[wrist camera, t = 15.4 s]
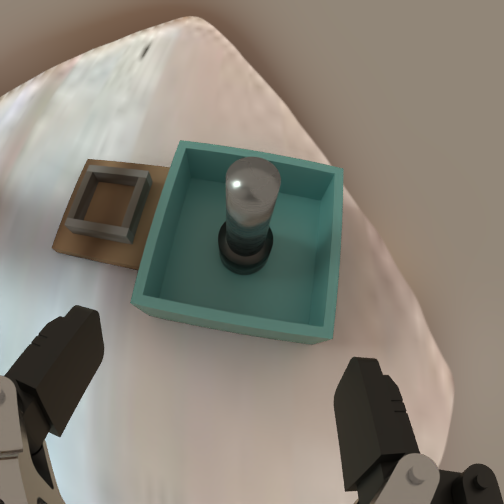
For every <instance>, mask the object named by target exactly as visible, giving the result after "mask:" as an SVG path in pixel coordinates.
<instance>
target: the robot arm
mask: <svg viewBox="0 0 504 504" xmlns="http://www.w3.org/2000/svg"><path fill="white" fill-rule="evenodd" d="M103 355H104V343H103V337H102V330H101V323H100V316H99V313H98V311H96V310H93V309H89V308H85V307H82V306H78V305H75V306H74V307H73V308H72V309H71V310H70V311H69V312H68V313H67V315H66V316H65V317H61V316H60V317H58V318H56V319H54V320H53V321H51V322H49V323H48V324H47V325H46V326H45V327H44V328H43V329H42V330H41V332H40V333H39V335H38V336H36V337H35V339H34V340H33V341H32V344H30V345H29V346H28V347H27V348H26V349H25V351H24V352H23V353H22V354H21V356H20V357H19V358H18V359H17V361H16V362H15V363H14V364H13V366H12V367H11V368H10V370H9V371H8V372H7V373H6V374H5V376H0V504H65V502H64V500H63V499H62V497H61V495H60V492H59V489H58V486H57V483H56V479H55V476H54V472H53V469H52V465H51V461H50V457H49V453H48V449H47V445H46V441H45V438H46V436H47V434H48V432H50V433H52V434H54V435H56V436H58V437H61V435H62V433H63V431H64V429H65V427H66V425H67V423H68V422H69V420H70V418H71V416H72V414H73V412H74V410H75V409H76V407H77V405H78V403H79V401H80V399H81V398H82V396H83V394H84V392H85V390H86V389H87V387H88V385H89V383H90V382H91V380H92V378H93V376H94V375H95V373H96V371H97V369H98V368H99V366H100V364H101V362H102V359H103ZM402 401H403V399H402V396H401V394H400V391H399V388H398V386H397V385H396V384H395V382H394V381H393V380H392V379H391V378H390V376H389V375H383V374H382V371H381V368H380V365H379V362H378V361H377V359H374V358H361V357H353V358H352V359H351V360H350V362H349V364H348V366H347V368H346V370H345V372H344V374H343V376H342V378H341V380H340V382H339V384H338V386H337V389H336V391H335V395H334V411H335V418H336V425H337V432H338V439H339V447H340V454H341V462H342V470H343V479H344V488H345V492H346V491H358V499H357V500H356V501H355V502H354V504H503V500H502V497H501V493H500V489H499V486H498V483H497V480H496V477H495V474H494V473H493V471H492V470H491V469H490V468H489V467H487V466H486V465H483V464H473V465H471V466H469V467H468V468H467V469H466V470H465V471H464V472H463V473H458V472H451V471H444V470H439V469H438V467H437V465H436V464H435V462H434V461H433V460H432V459H430V458H429V457H427V456H425V455H423V454H420V452H419V449H418V445H417V442H416V439H415V436H414V433H413V429H412V426H411V423H410V420H409V417H408V414H407V413H406V408H405V405H404V403H402Z"/></svg>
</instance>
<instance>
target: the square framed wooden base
mask: <svg viewBox="0 0 504 504" xmlns="http://www.w3.org/2000/svg"><path fill="white" fill-rule="evenodd" d="M169 169H170V168H169V167H161V166H153V165H144V164H135V163H126V162H116V161H105V160H94V159H88V160H87V162H86V164H85V166H84V168H83V170H82V172H81V175H80V177H79V179H78V181H77V184H76V186H75V188H74V191H73V193H72V195H71V198H70V200H69V203H68V205H67V208H66V210H65V213H64V215H63V218H62V221H61V223H60V226H59V229H58V231H57V234H56V237H55V240H54V243H53V246H52V249H54V250H55V251H56V252H59V253H63V254H67V255H72V256H76V257H80V258H85V259H89V260H94V261H98V262H103V263H107V264H112V265H117V266H121V267H126V268H131V269H136V270H139V267H140V263H141V259H142V256H143V252H144V248H145V245H146V241H147V238H148V235H149V231H150V228H151V225H152V221H153V218H154V215H155V212H156V208H157V205H158V202H159V199H160V196H161V193H162V190H163V187H164V184H165V181H166V178H167V175H168V172H169Z"/></svg>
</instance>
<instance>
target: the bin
mask: <svg viewBox="0 0 504 504" xmlns="http://www.w3.org/2000/svg"><path fill="white" fill-rule="evenodd" d="M244 157H260V158H263V159H266V160H268V161H269V162H271V163H272V164H273V165H274V166H275V167H276V168H277V169H278V171H279V173H280V177H281V185H280V189H279V192H278V196H277V200H276V203H275V207H274V211H273V214H272V218H271V221H270V225H269V227H270V228H271V230H272V233H273V246H272V249H271V252H270V255H269V258H268V260H267V263H266V264H265V266H264V267H263V268H262V269H261V270H259V271H258V272H256V273H254V274H250V275H239V274H235V273H233V272H231V271H230V270H228V269H227V268H226V267H225V266H224V265H223V263H222V261H221V259H220V256H219V246H218V234H219V230H220V228H221V226H222V225H223V223H224V222H225V221H226V173H227V170H228V168H229V167H230V166H231V165H232V164H233V163H234V162H235V161H237V160H239V159H241V158H244ZM342 208H343V168H338V167H334V166H329V165H325V164H320V163H316V162H311V161H306V160H301V159H296V158H291V157H286V156H281V155H276V154H270V153H264V152H259V151H253V150H247V149H240V148H234V147H227V146H220V145H213V144H206V143H198V142H190V141H181V140H180V142H179V145H178V147H177V150H176V153H175V155H174V158H173V161H172V164H171V167H170V169H169V172H168V175H167V178H166V181H165V184H164V187H163V190H162V193H161V196H160V199H159V202H158V205H157V208H156V212H155V215H154V218H153V221H152V225H151V228H150V231H149V235H148V238H147V241H146V245H145V248H144V252H143V256H142V259H141V263H140V267H139V270H138V274H137V278H136V282H135V286H134V290H133V294H132V298H131V302H130V303H131V304H133V305H134V306H136V307H137V308H139V309H140V310H142V311H143V312H145V313H146V314H148V315H149V316H153V317H158V318H162V319H167V320H172V321H176V322H181V323H186V324H191V325H196V326H201V327H206V328H211V329H216V330H222V331H227V332H233V333H238V334H244V335H250V336H256V337H263V338H269V339H276V340H282V341H289V342H296V343H304V344H316V343H320V342H324V341H327V340H331V339H333V331H334V321H335V312H336V301H337V290H338V278H339V265H340V250H341V232H342Z"/></svg>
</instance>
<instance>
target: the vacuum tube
mask: <svg viewBox="0 0 504 504" xmlns="http://www.w3.org/2000/svg"><path fill="white" fill-rule="evenodd" d="M280 185H281V177H280V173H279V171H278V169H277V168H276V167H275V166H274V165H273V164H272V163H271V162H269V161H268V160H266V159H263V158H260V157H244V158H241V159H239V160H237V161H235V162H234V163H233V164H232V165H231V166H230V167H229V168H228V170H227V173H226V221H225V222H224V223H223V225H222V226H221V228H220V230H219V234H218V246H219V256H220V259H221V261H222V263H223V265H224V266H225V267H226V268H227V269H228V270H230V271H231V272H233V273H235V274H239V275H250V274H254V273H256V272H258V271H259V270H261V269H262V268H263V267H264V266H265V264H266V263H267V260H268V258H269V255H270V252H271V249H272V246H273V233H272V230H271V228H270V227H269V225H270V221H271V218H272V214H273V211H274V207H275V203H276V200H277V196H278V192H279V189H280Z"/></svg>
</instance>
